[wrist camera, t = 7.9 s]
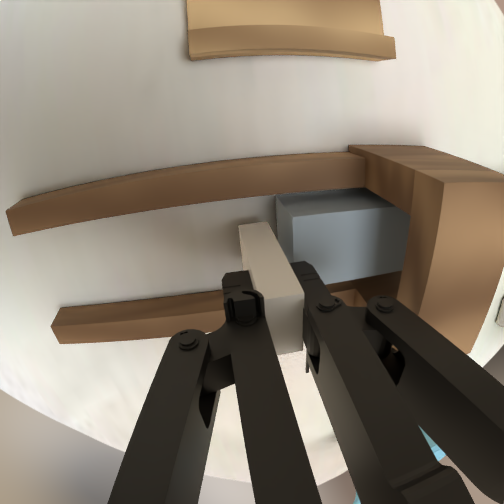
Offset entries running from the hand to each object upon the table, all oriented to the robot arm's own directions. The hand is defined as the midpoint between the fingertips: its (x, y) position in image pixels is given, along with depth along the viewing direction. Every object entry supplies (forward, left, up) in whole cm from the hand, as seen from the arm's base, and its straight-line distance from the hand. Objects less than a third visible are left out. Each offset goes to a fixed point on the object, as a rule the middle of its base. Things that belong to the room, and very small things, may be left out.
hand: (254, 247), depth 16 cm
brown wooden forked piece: (0, -1, -1) cm, 2 cm away
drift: (0, +8, -2) cm, 8 cm away
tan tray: (-15, +3, -1) cm, 15 cm away
